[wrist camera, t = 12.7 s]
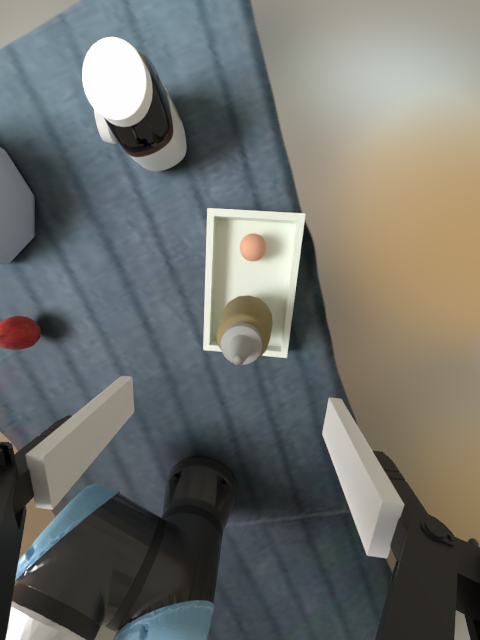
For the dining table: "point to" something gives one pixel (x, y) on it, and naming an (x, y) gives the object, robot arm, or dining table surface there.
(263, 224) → the tray
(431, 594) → the robot arm
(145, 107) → the spread jar
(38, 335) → the red fruit
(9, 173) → the bottle
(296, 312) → the dining table surface
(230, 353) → the squeeze bottle
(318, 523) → the dining table surface
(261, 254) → the egg
